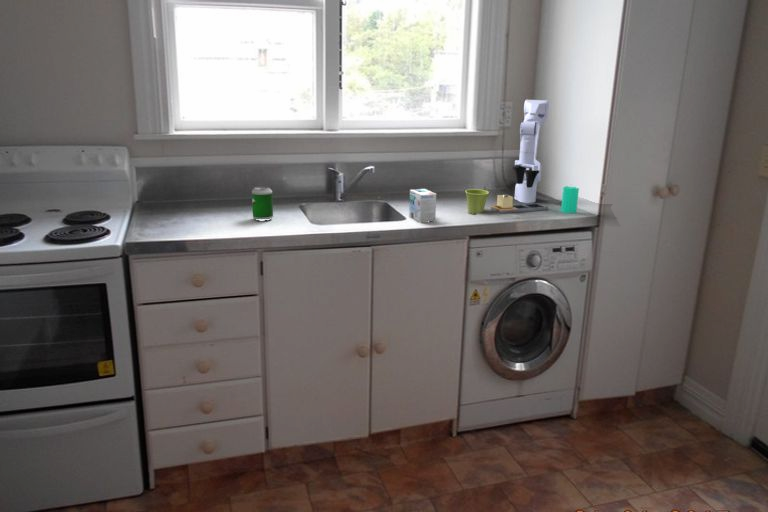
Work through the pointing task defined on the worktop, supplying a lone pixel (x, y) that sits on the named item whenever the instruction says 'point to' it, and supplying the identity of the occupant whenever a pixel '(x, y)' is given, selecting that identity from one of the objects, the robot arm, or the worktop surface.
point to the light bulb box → (422, 205)
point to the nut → (504, 201)
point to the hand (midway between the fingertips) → (524, 185)
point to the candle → (569, 199)
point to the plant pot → (476, 200)
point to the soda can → (262, 203)
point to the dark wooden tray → (520, 208)
